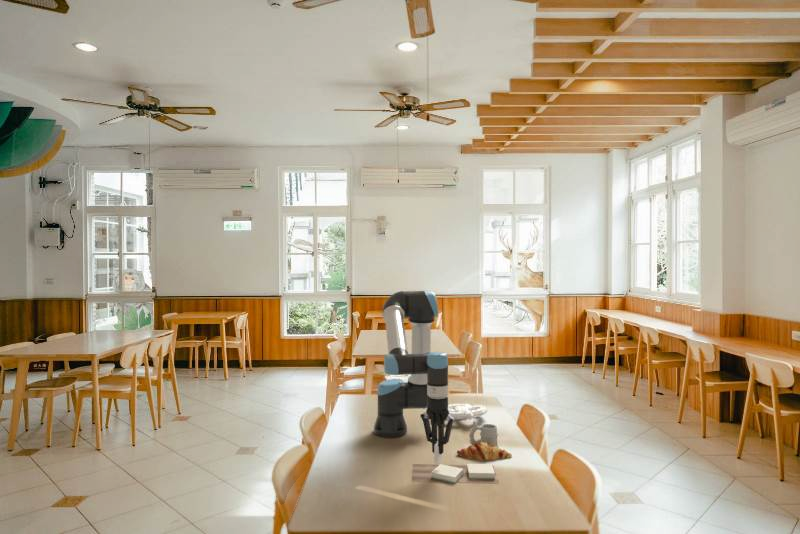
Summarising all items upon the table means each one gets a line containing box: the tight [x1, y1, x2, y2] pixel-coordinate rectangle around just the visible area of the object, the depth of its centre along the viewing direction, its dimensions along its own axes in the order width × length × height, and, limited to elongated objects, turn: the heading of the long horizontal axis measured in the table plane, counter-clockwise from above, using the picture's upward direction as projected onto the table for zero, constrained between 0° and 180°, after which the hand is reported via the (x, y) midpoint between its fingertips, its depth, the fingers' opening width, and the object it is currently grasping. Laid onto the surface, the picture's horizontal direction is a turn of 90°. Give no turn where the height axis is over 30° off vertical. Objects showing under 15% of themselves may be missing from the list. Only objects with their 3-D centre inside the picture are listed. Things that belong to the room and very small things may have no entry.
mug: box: [468, 420, 500, 448], centre depth 202 cm, size 8×12×12 cm, turn 84°
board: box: [411, 463, 500, 485], centre depth 177 cm, size 15×30×1 cm, turn 87°
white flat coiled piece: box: [428, 402, 488, 421], centre depth 244 cm, size 28×24×6 cm
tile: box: [431, 463, 464, 484], centre depth 175 cm, size 8×2×9 cm
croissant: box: [456, 442, 513, 462], centre depth 193 cm, size 21×10×8 cm, turn 87°
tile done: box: [466, 463, 496, 479], centre depth 177 cm, size 8×9×2 cm
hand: (437, 462), depth 176 cm, fingers closed
